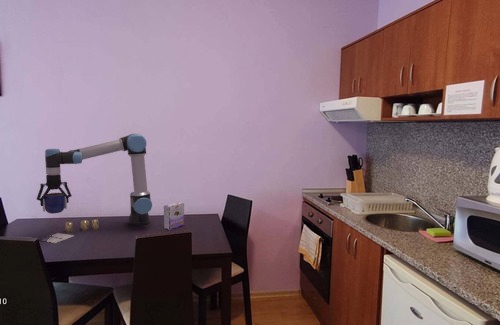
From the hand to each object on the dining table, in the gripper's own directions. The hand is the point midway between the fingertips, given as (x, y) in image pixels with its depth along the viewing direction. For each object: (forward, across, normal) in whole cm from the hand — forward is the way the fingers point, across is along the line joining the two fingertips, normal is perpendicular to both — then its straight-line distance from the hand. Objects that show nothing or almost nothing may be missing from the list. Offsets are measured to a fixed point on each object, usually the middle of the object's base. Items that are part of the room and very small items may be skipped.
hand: (55, 209), depth 197 cm
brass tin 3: (+18, -24, -6) cm, 31 cm away
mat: (+18, 0, 0) cm, 18 cm away
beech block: (+18, -20, -14) cm, 30 cm away
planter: (+2, 0, 0) cm, 2 cm away
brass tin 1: (+18, -9, -10) cm, 23 cm away
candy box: (+18, -67, +25) cm, 74 cm away
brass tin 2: (+18, -18, -8) cm, 27 cm away
